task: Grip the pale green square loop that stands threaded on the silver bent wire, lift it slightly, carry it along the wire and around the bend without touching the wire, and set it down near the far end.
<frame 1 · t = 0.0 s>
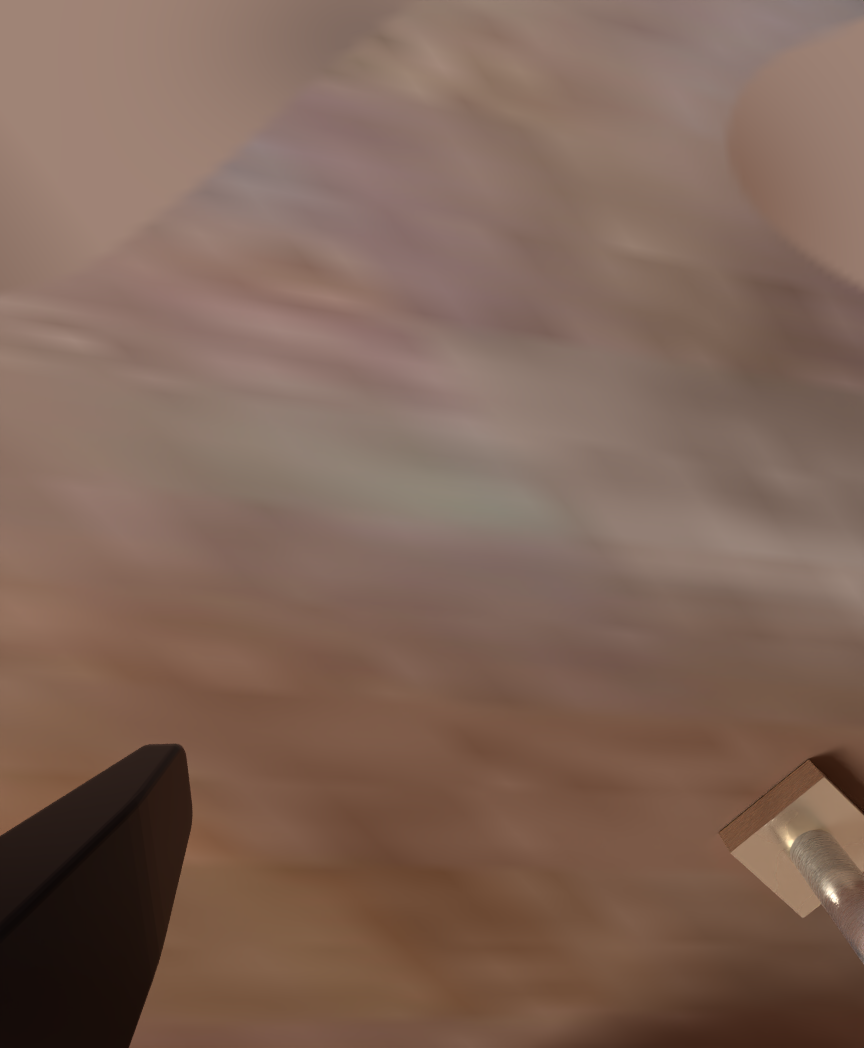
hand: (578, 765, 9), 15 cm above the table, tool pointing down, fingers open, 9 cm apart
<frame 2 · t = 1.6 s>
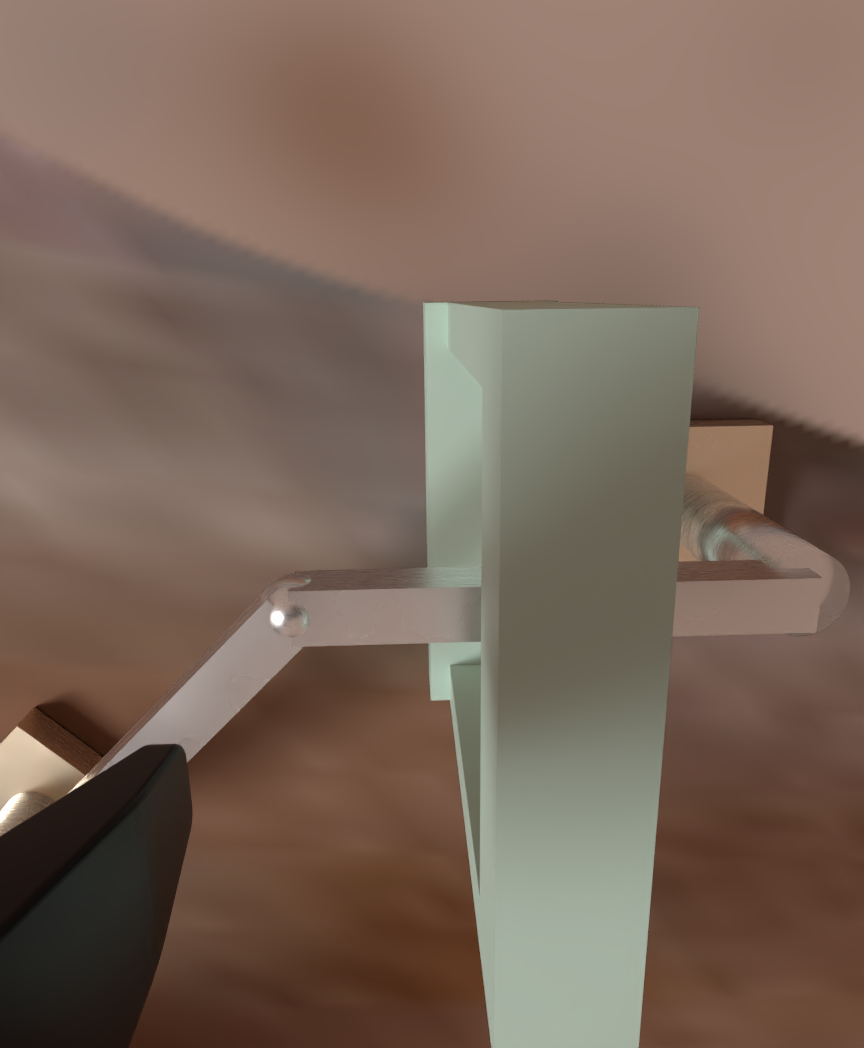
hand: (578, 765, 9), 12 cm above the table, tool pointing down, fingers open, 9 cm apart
mint green frame: (483, 499, 20), on the table
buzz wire: (330, 503, 20), on the table
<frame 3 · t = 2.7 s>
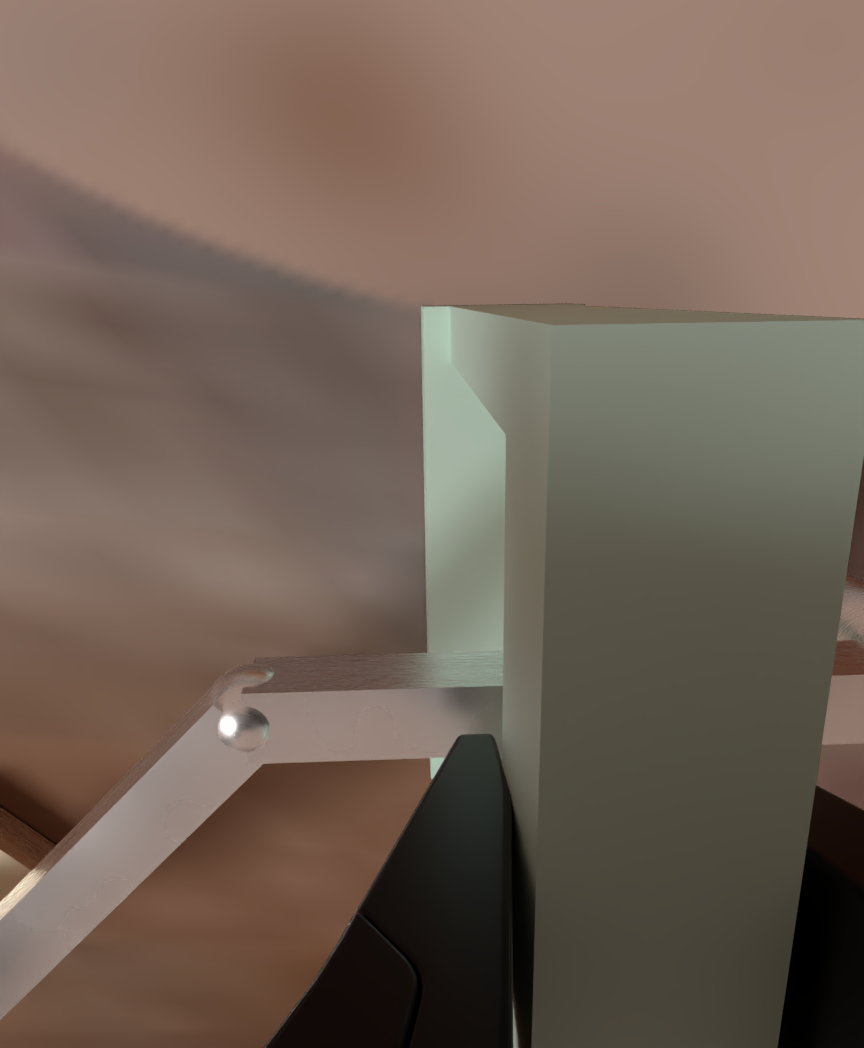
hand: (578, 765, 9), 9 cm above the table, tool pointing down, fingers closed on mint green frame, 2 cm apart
mint green frame: (493, 539, 17), on the table, touching gripper
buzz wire: (311, 545, 17), on the table
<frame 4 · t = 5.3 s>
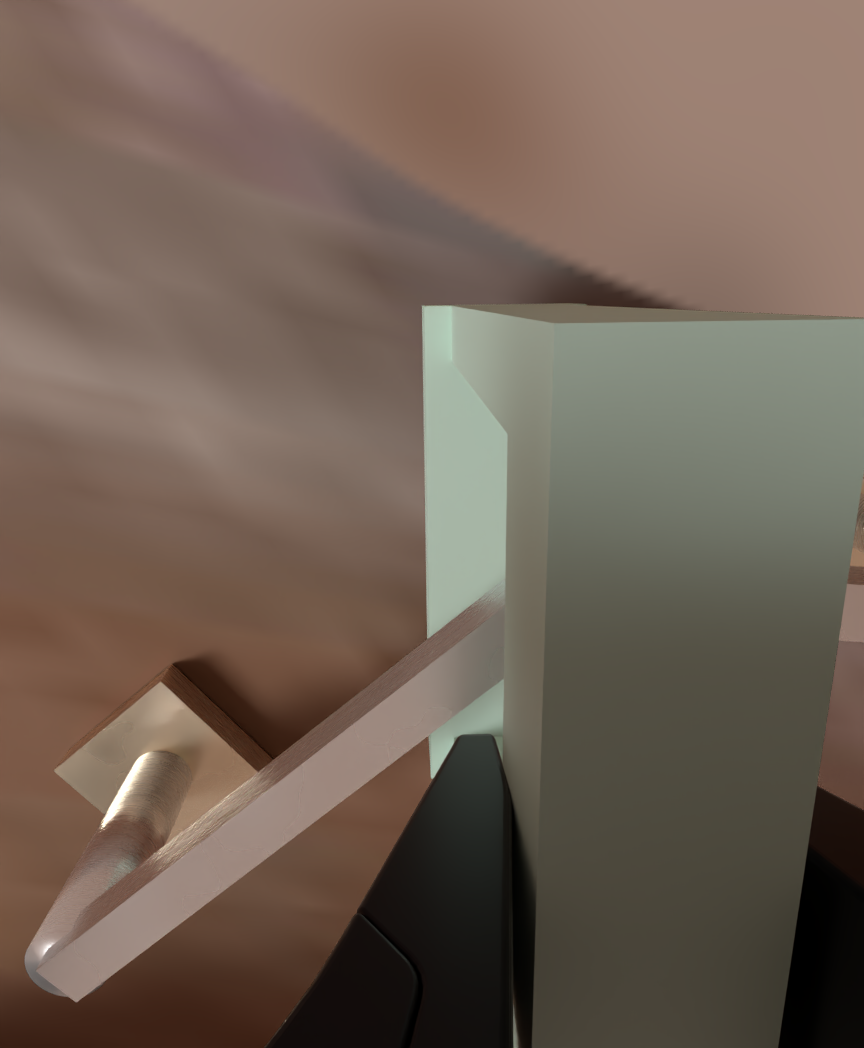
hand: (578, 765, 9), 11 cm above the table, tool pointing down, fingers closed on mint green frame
mint green frame: (493, 539, 17), point 3 cm above the table, touching gripper
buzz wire: (508, 483, 20), on the table
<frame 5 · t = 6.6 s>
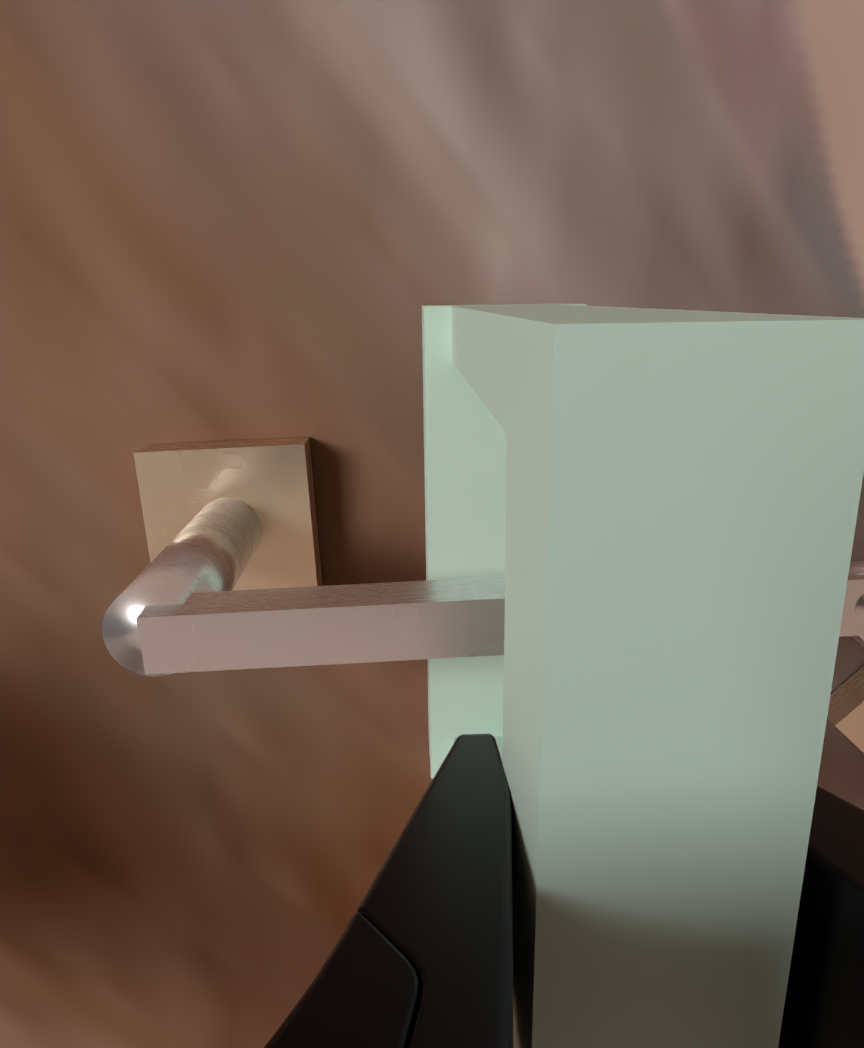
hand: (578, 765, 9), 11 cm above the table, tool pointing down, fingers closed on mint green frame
mint green frame: (493, 539, 17), point 3 cm above the table, touching gripper
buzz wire: (704, 494, 20), on the table
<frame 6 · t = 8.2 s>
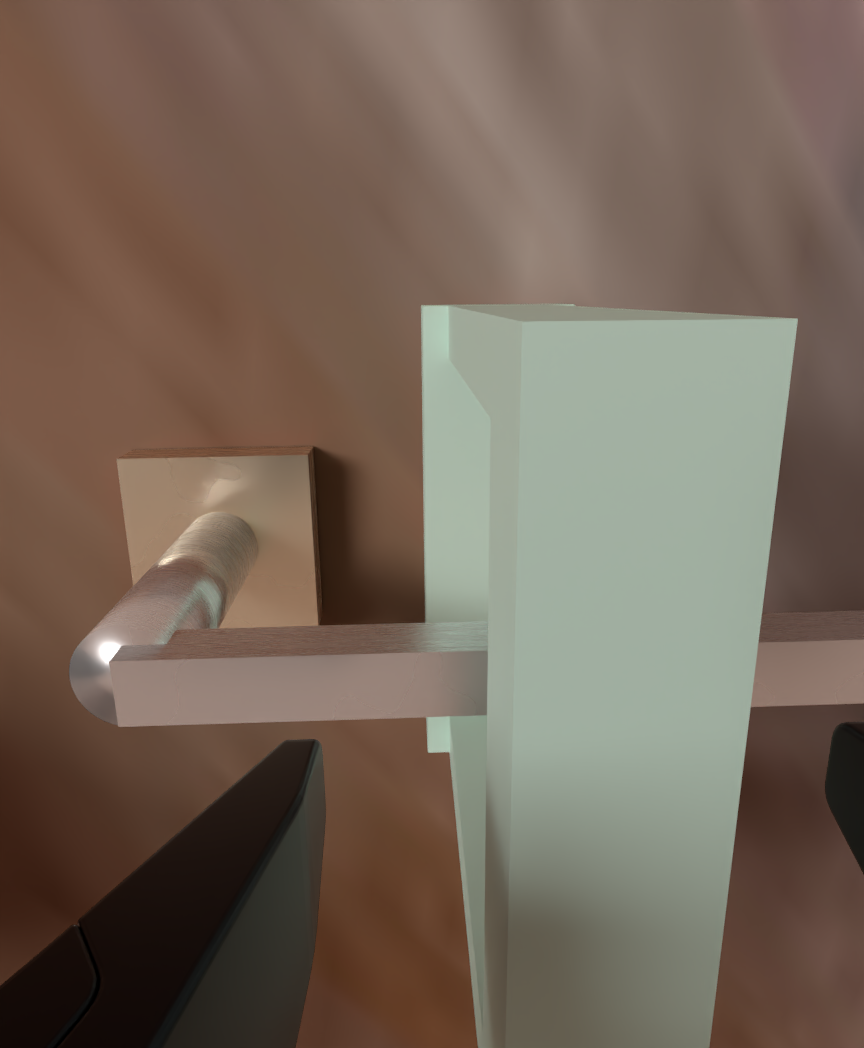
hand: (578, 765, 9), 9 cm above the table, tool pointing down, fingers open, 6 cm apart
mint green frame: (488, 527, 18), on the table
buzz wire: (744, 521, 18), on the table
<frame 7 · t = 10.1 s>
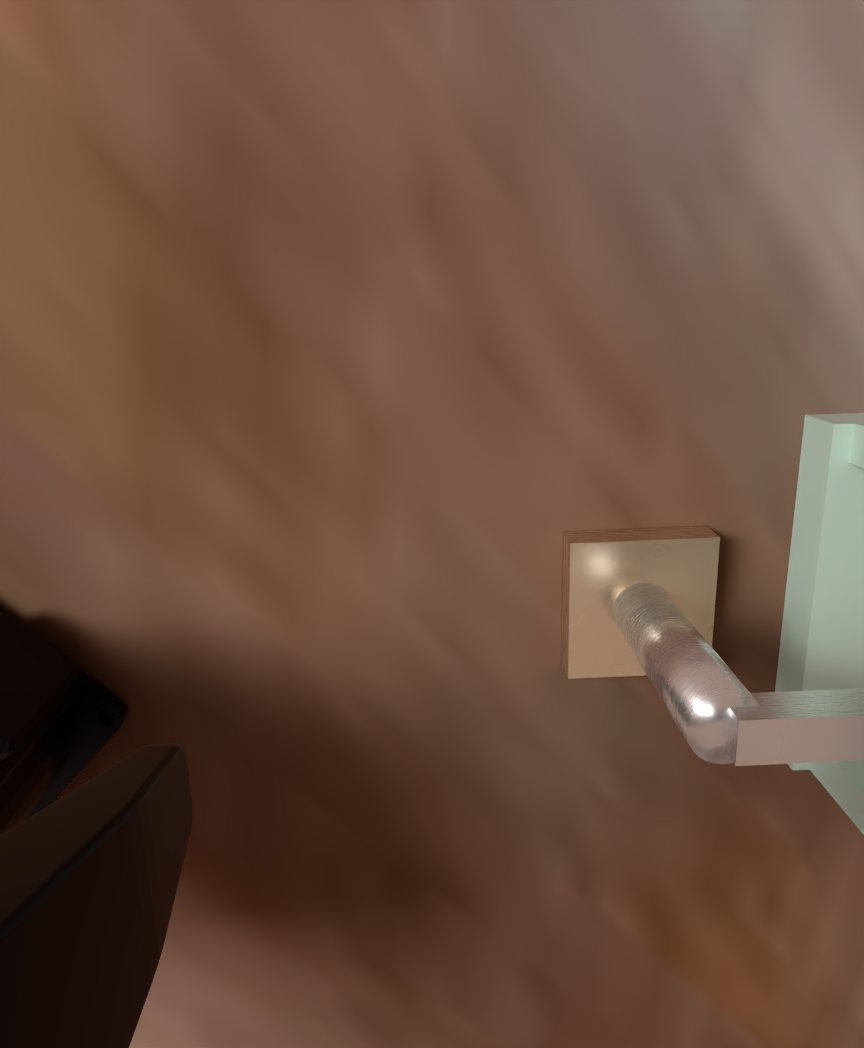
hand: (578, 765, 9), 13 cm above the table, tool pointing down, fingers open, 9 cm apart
mint green frame: (838, 586, 22), on the table
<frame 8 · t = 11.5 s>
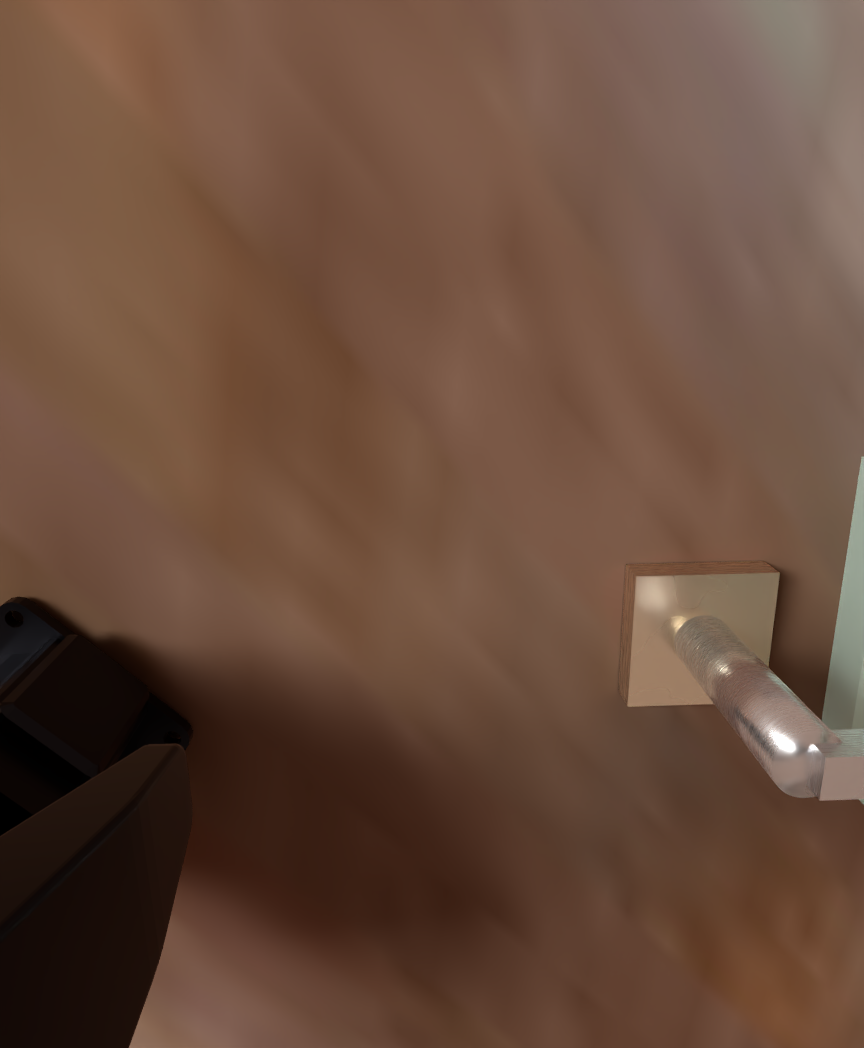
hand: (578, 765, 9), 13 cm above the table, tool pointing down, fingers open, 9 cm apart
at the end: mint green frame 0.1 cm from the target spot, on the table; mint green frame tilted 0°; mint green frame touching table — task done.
